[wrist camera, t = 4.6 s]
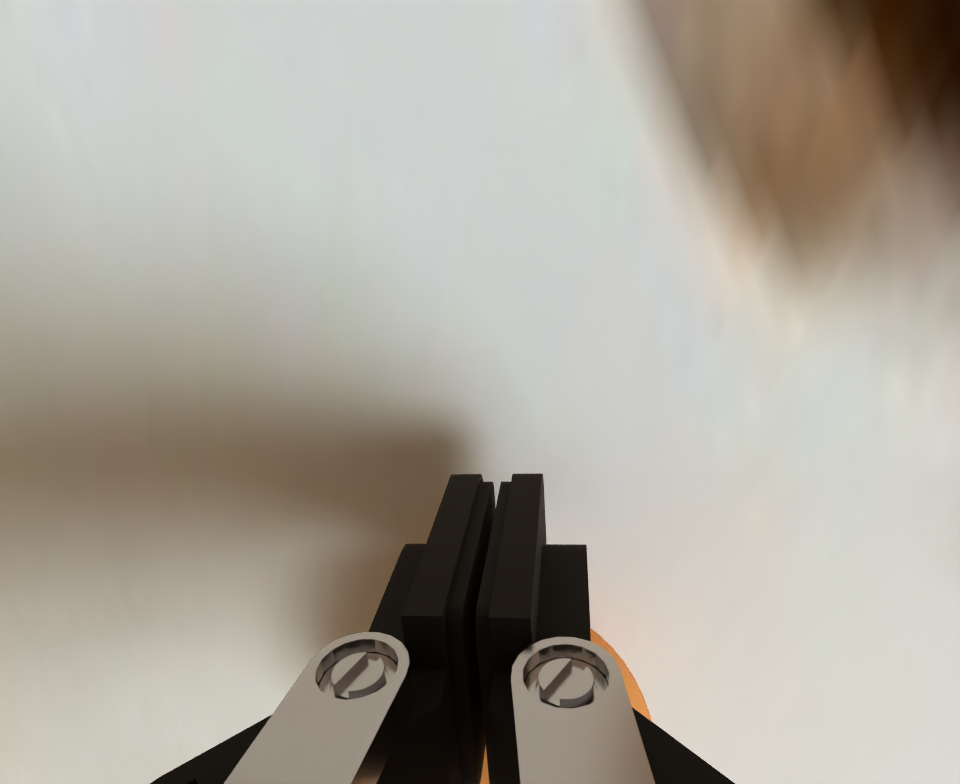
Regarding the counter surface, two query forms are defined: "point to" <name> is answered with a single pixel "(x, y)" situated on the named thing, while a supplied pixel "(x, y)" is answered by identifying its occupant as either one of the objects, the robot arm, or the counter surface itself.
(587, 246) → the counter surface
